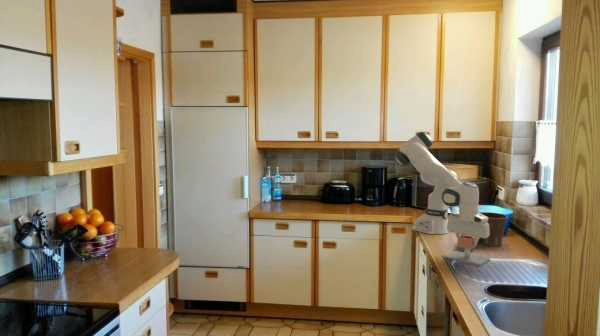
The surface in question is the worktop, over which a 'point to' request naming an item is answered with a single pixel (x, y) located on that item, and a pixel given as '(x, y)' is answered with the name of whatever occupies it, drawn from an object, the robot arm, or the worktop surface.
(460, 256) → the post board
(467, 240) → the collar
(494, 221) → the plant pot
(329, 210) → the worktop surface
